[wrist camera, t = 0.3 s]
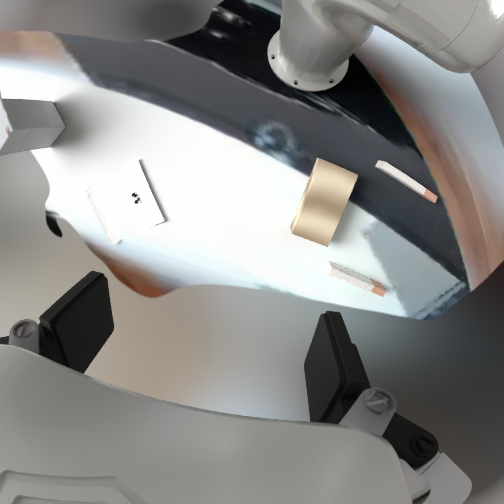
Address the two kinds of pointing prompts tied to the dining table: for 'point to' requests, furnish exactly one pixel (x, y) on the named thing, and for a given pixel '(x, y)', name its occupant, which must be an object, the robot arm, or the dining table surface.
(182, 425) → the robot arm
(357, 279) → the walled lane
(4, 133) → the skincare box
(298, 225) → the birch block
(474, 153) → the dining table surface
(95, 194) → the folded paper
